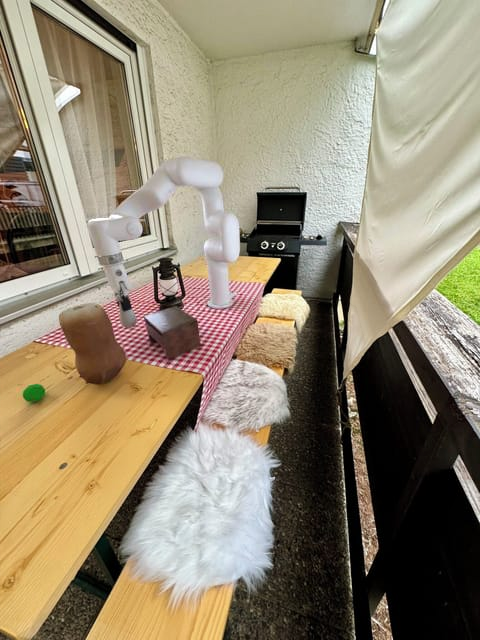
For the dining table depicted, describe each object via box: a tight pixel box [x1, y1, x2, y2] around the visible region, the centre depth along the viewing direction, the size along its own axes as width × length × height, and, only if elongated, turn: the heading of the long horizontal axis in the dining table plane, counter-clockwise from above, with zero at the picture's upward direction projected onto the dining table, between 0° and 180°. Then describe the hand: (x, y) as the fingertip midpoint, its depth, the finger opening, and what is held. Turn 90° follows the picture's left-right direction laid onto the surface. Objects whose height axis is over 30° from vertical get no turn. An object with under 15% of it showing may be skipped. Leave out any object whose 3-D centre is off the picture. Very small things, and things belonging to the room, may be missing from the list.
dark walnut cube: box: [143, 305, 202, 361], centre depth 95 cm, size 13×16×11 cm
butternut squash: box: [58, 302, 127, 385], centre depth 75 cm, size 14×13×25 cm
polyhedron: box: [22, 383, 46, 403], centre depth 73 cm, size 5×5×5 cm
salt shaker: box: [115, 294, 138, 329], centre depth 95 cm, size 6×6×13 cm
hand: (125, 307), depth 94 cm, fingers closed on salt shaker, 4 cm apart
